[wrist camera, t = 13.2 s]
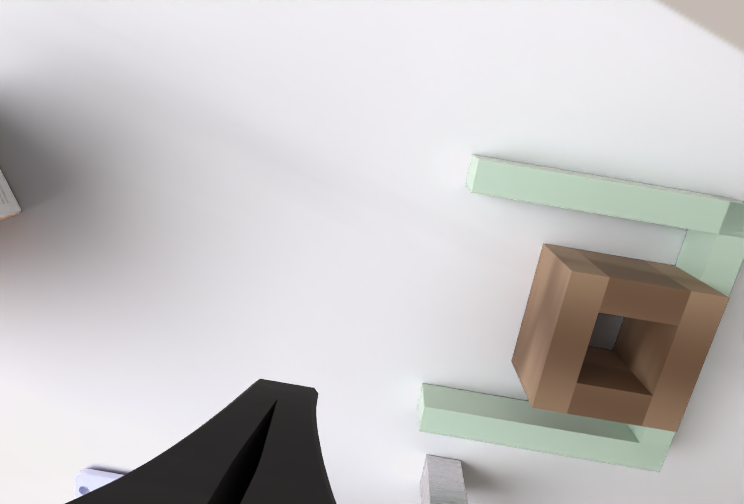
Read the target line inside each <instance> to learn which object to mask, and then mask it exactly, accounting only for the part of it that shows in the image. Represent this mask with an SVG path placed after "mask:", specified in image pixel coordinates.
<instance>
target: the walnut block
mask: <svg viewBox="0 0 744 504" xmlns="http://www.w3.org/2000/svg"><path fill="white" fill-rule="evenodd" d="M728 300H729V297H728V296H726V295H724V294H722V293H721V292H719V291H717V290H716V289H714V288H712V287H710V286H709V285H707V284H705V283H704V282H702V281H700V280H698V279H697V278H695V277H693V276H692V275H690V274H688V273H687V272H685V271H683V270H681V269H680V268H678V267H676V266H674V265H668V264H662V263H656V262H650V261H644V260H638V259H632V258H626V257H620V256H614V255H608V254H602V253H596V252H590V251H584V250H579V249H573V248H567V247H561V246H555V245H549V244H543V246H542V250H541V254H540V258H539V261H538V265H537V269H536V272H535V276H534V280H533V284H532V287H531V291H530V295H529V298H528V302H527V306H526V310H525V313H524V317H523V321H522V324H521V328H520V332H519V336H518V339H517V343H516V347H515V350H514V354H513V358H512V363H513V366H514V368H515V370H516V372H517V375H518V377H519V379H520V382H521V384H522V386H523V388H524V391H525V393H526V395H527V398H528V400H529V402H530V404H531V407H532V408H537V409H542V410H548V411H554V412H560V413H566V414H572V415H578V416H584V417H590V418H596V419H602V420H607V421H613V422H619V423H625V424H631V425H637V426H643V427H649V428H655V429H661V430H667V431H672V432H677V430H678V427H679V425H680V422H681V419H682V417H683V414H684V412H685V409H686V407H687V404H688V402H689V399H690V397H691V394H692V392H693V389H694V386H695V384H696V381H697V379H698V376H699V374H700V371H701V369H702V366H703V364H704V361H705V359H706V356H707V353H708V351H709V348H710V346H711V343H712V341H713V338H714V336H715V333H716V331H717V328H718V326H719V323H720V320H721V318H722V315H723V313H724V310H725V308H726V305H727V303H728ZM598 313H605V314H611V315H617V316H623V317H624V320H623V323H622V326H621V329H620V332H619V335H618V338H617V341H616V344H615V347H614V350H608V349H602V348H596V347H590V346H588V345H589V342H590V338H591V335H592V332H593V329H594V326H595V323H596V319H597V316H598Z"/></svg>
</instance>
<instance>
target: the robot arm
mask: <svg viewBox="0 0 744 504" xmlns="http://www.w3.org/2000/svg"><path fill="white" fill-rule="evenodd" d="M317 399H318V393H317V391H316V390H315V388H311V387H306V386H300V385H294V384H288V383H282V382H276V381H270V380H264V379H259V380H258V381H256V382H255V383H254V384H252V385H251V386H250V387H249V388H248V389H247V390H246V391H244V392H243V393H242V394H241V395H240V396H239V397H237V398H236V399H235V400H234V401H233V402H231V403H230V404H229V405H228V406H227V407H225V408H224V409H223V410H222V411H220V412H219V413H218V414H216V415H215V416H214V417H213V418H211V419H210V420H209V421H207V422H206V423H205V424H204V425H202V426H201V427H200V428H198V429H197V430H195V431H194V432H193V433H191V434H190V435H188V436H187V437H185V438H184V439H182V440H181V441H180V442H178V443H177V444H175V445H174V446H172V447H171V448H169V449H168V450H166V451H165V452H163V453H162V454H160V455H159V456H157V457H155V458H154V459H152V460H151V461H149V462H147V463H146V464H144V465H142V466H140V467H138V468H137V469H135V470H133V471H131V472H129V473H128V474H126V475H122V474H116V473H110V472H104V471H98V470H92V469H83V470H81V471H80V472H79V473H78V474H77V475H76V477H75V499H74V500H72V501H70V502H68V503H65V504H336V501H335V499H334V496H333V493H332V490H331V486H330V483H329V480H328V476H327V473H326V469H325V465H324V461H323V457H322V453H321V447H320V442H319V436H318V429H317V419H316V405H317ZM86 487H87V488H88V489H87V488H86Z"/></svg>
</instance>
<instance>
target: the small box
mask: <svg viewBox="0 0 744 504" xmlns="http://www.w3.org/2000/svg"><path fill="white" fill-rule="evenodd" d="M20 212H21V208H20V206H19V204H18V202H17V201H16V199H15V197H14V195H13V193H12V191H11V189H10V187H9V185H8V183H7V181H6V179H5V177H4V175H3V173H2V171H1V169H0V220H3V219H6V218H9V217H12V216H15V215H17V214H19V213H20Z"/></svg>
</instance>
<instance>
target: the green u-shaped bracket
mask: <svg viewBox="0 0 744 504" xmlns="http://www.w3.org/2000/svg"><path fill="white" fill-rule="evenodd" d="M465 185H466V187H467V188H468V189H469V190H470V191H471V193H477V194H483V195H489V196H494V197H500V198H506V199H512V200H518V201H524V202H530V203H536V204H542V205H548V206H554V207H560V208H566V209H572V210H577V211H583V212H589V213H595V214H601V215H607V216H613V217H619V218H625V219H631V220H637V221H643V222H649V223H655V224H660V225H666V226H672V227H678V228H684V229H688V231H687V234H686V237H685V239H684V242H683V245H682V248H681V251H680V254H679V256H678V259H677V262H676V265H675V266H676V267H678V268H680V269H681V270H683V271H685V272H687V273H688V274H690V275H692V276H693V277H695V278H697V279H698V280H700V281H702V282H704V283H705V284H707V285H709V286H710V287H712V288H714V289H716V290H717V291H719V292H721V293H722V294H724V295H726V296H728V297H729V295H730V292H731V290H732V287H733V284H734V282H735V279H736V277H737V274H738V272H739V269H740V267H741V264H742V262H743V259H744V202H743V201H739V200H736V199H732V198H727V197H721V196H715V195H709V194H703V193H697V192H691V191H685V190H679V189H674V188H668V187H662V186H656V185H650V184H644V183H638V182H632V181H626V180H620V179H614V178H608V177H602V176H596V175H590V174H584V173H579V172H573V171H567V170H561V169H555V168H549V167H543V166H537V165H531V164H525V163H519V162H513V161H507V160H501V159H495V158H490V157H484V156H478V155H472V156H471V160H470V165H469V169H468V174H467V179H466V183H465ZM417 408H418V424H419V431H421V432H427V433H433V434H439V435H445V436H451V437H457V438H462V439H468V440H474V441H480V442H486V443H492V444H498V445H504V446H509V447H515V448H521V449H527V450H533V451H539V452H545V453H551V454H557V455H562V456H568V457H574V458H580V459H586V460H592V461H598V462H604V463H609V464H615V465H621V466H627V467H633V468H639V469H645V470H651V471H656V472H660V470H661V467H662V465H663V462H664V460H665V457H666V455H667V452H668V450H669V447H670V444H671V442H672V439H673V437H674V434H675V432H672V431H667V430H661V429H655V428H649V427H643V426H637V425H631V424H625V423H619V422H613V421H607V420H602V419H596V418H590V417H584V416H578V415H572V414H566V413H560V412H554V411H548V410H542V409H537V408H532V407H531V404H530V402H529V401H524V400H518V399H512V398H506V397H500V396H494V395H488V394H483V393H477V392H471V391H465V390H459V389H453V388H447V387H441V386H435V385H430V384H424V383H422V387H421V392H420V397H419V401H418V406H417Z"/></svg>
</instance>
